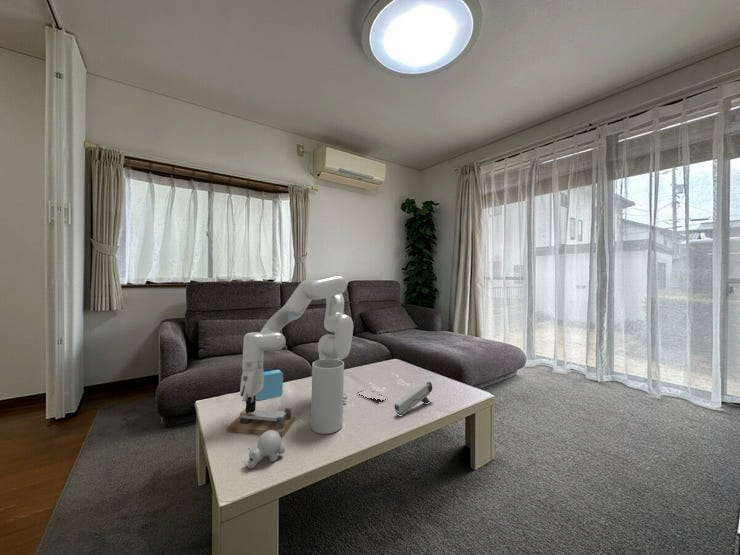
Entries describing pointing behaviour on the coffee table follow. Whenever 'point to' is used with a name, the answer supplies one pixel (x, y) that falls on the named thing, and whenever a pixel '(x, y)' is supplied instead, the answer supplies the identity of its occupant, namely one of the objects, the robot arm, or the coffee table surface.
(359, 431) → the coffee table surface
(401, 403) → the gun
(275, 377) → the blue rounded block
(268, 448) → the chubby cartoon animal
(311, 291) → the robot arm
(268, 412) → the latch lever
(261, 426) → the latch base
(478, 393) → the coffee table surface
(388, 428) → the coffee table surface
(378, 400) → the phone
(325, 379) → the cylinder vase
